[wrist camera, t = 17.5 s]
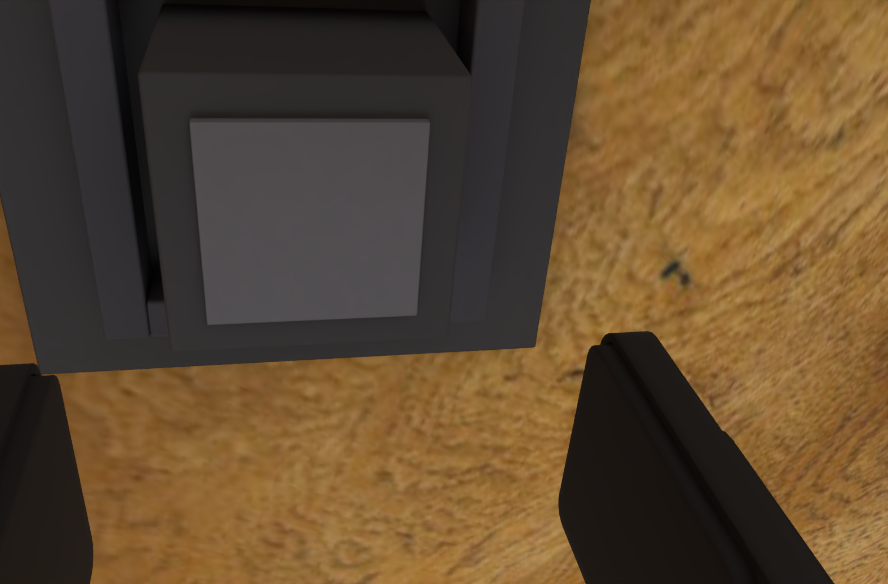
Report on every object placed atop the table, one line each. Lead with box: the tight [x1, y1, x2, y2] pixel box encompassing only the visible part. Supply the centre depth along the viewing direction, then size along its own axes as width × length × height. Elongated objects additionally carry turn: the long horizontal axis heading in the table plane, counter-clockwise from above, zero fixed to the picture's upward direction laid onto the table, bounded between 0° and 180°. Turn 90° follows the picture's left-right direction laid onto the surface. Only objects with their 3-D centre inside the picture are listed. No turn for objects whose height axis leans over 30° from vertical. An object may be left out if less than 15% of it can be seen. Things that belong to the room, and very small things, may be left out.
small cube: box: [138, 4, 473, 352], centre depth 17 cm, size 6×6×5 cm
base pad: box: [0, 0, 591, 374], centre depth 19 cm, size 13×13×2 cm
